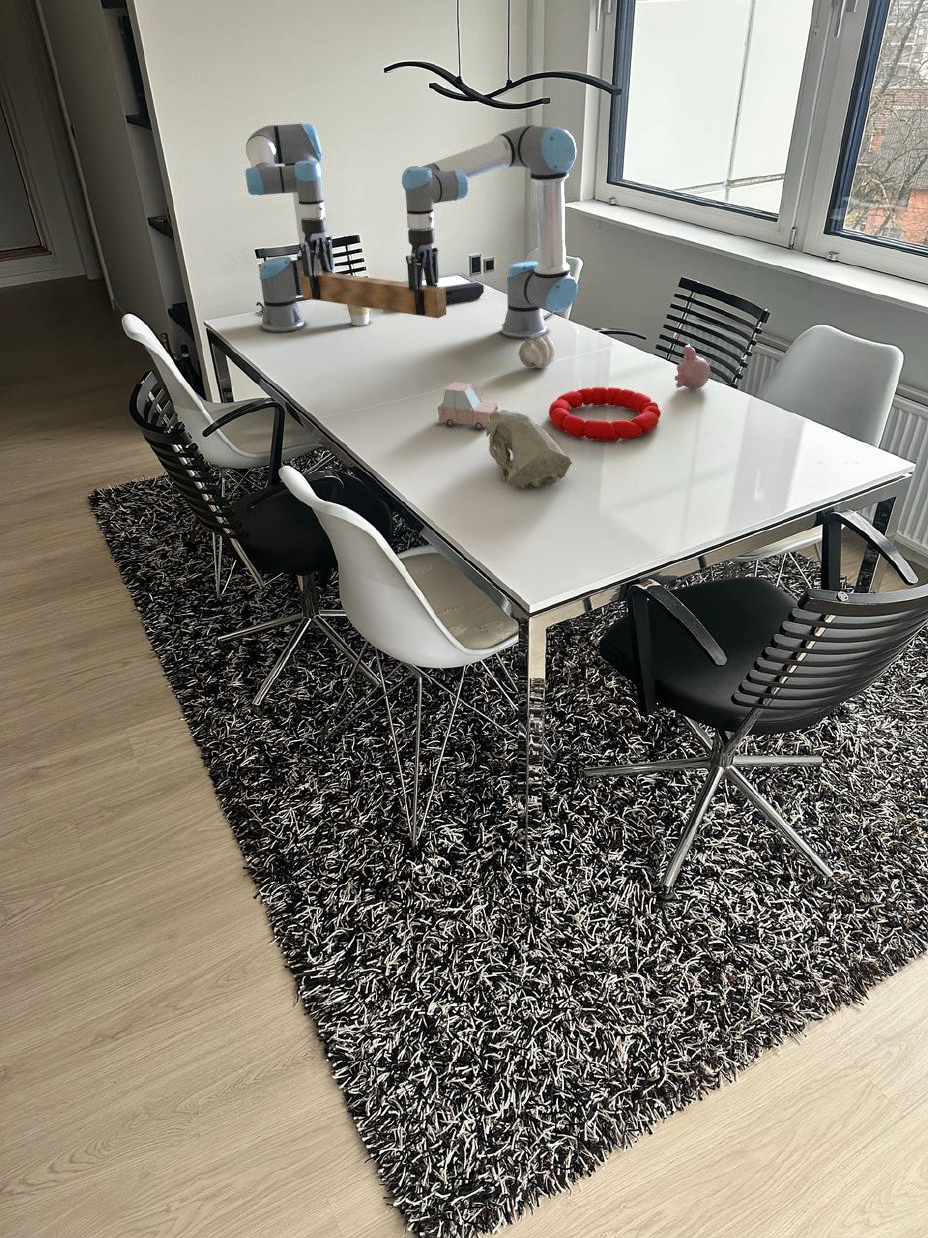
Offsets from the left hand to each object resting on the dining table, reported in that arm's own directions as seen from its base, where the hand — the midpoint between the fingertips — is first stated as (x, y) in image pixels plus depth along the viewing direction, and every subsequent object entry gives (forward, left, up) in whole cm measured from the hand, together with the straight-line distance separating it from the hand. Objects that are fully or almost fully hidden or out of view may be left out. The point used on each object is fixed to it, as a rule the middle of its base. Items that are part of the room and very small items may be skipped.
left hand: (321, 296), depth 285 cm
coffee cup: (-36, +13, -20) cm, 44 cm away
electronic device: (-61, +46, -20) cm, 78 cm away
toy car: (+67, +35, -20) cm, 78 cm away
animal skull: (+100, +42, -20) cm, 110 cm away
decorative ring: (+75, +71, -20) cm, 105 cm away
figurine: (+57, +103, -20) cm, 120 cm away
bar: (+13, +15, -1) cm, 20 cm away
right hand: (+27, +30, 0) cm, 40 cm away
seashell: (+27, +65, -20) cm, 73 cm away
